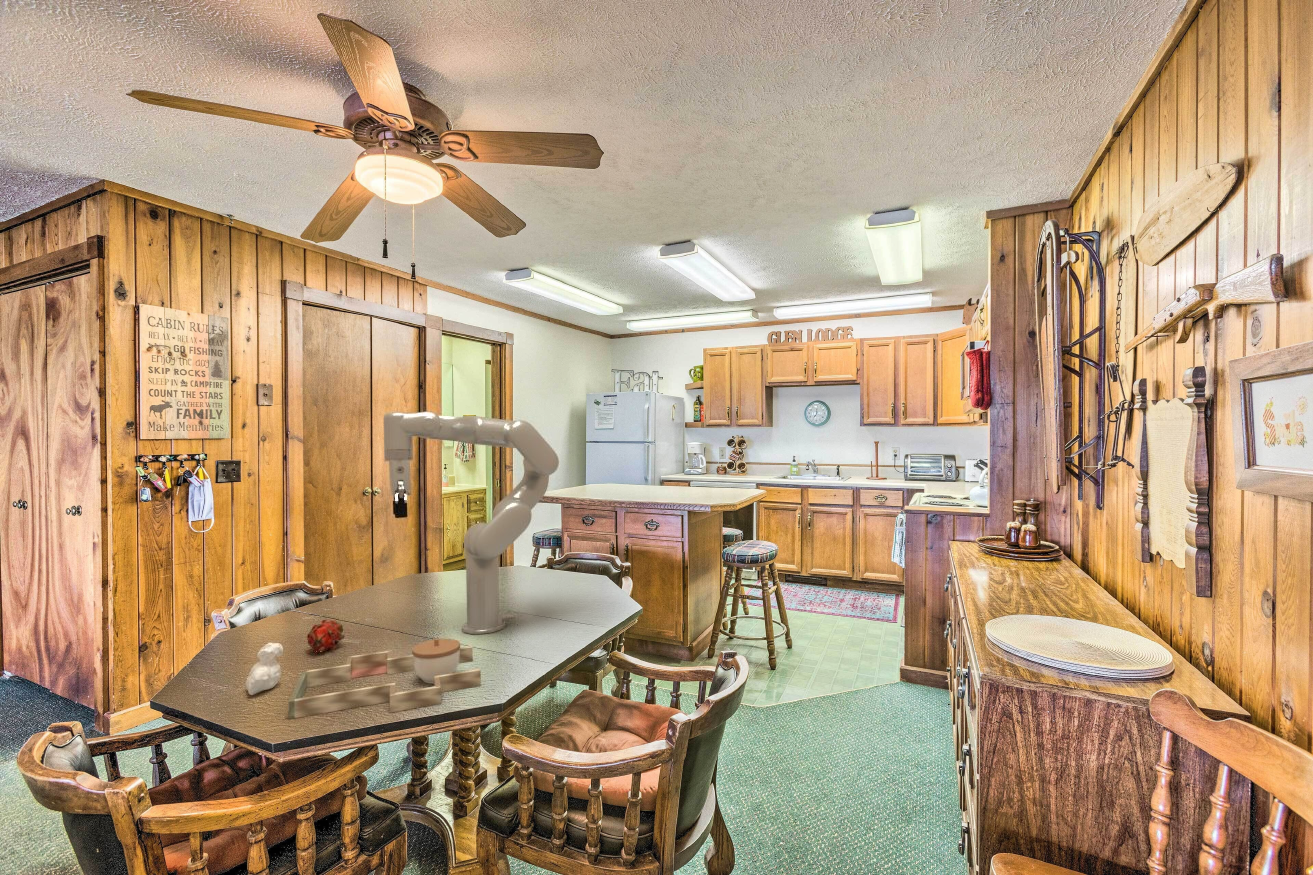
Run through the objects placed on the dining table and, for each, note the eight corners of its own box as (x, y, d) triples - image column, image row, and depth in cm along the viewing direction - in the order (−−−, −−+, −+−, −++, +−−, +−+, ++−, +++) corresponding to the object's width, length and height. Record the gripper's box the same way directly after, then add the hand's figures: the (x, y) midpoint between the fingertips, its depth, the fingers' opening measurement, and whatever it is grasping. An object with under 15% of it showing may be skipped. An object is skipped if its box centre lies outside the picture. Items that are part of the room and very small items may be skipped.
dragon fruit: (338, 646, 169) (320, 668, 158) (311, 631, 168) (291, 652, 156) (355, 623, 169) (338, 643, 157) (328, 607, 168) (309, 627, 156)
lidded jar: (432, 691, 134) (431, 649, 134) (403, 681, 139) (402, 642, 139) (470, 674, 143) (469, 636, 143) (441, 666, 148) (440, 629, 148)
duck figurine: (260, 707, 132) (295, 662, 135) (227, 692, 130) (264, 646, 132) (270, 687, 143) (302, 646, 146) (240, 673, 140) (273, 631, 143)
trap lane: (469, 652, 158) (469, 639, 158) (484, 695, 131) (483, 679, 131) (306, 677, 143) (306, 662, 143) (283, 731, 116) (283, 713, 116)
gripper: (415, 455, 162) (416, 518, 162) (410, 455, 178) (411, 511, 178) (385, 456, 159) (386, 520, 159) (383, 455, 174) (384, 513, 174)
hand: (400, 515), depth 168 cm, fingers open, 9 cm apart
